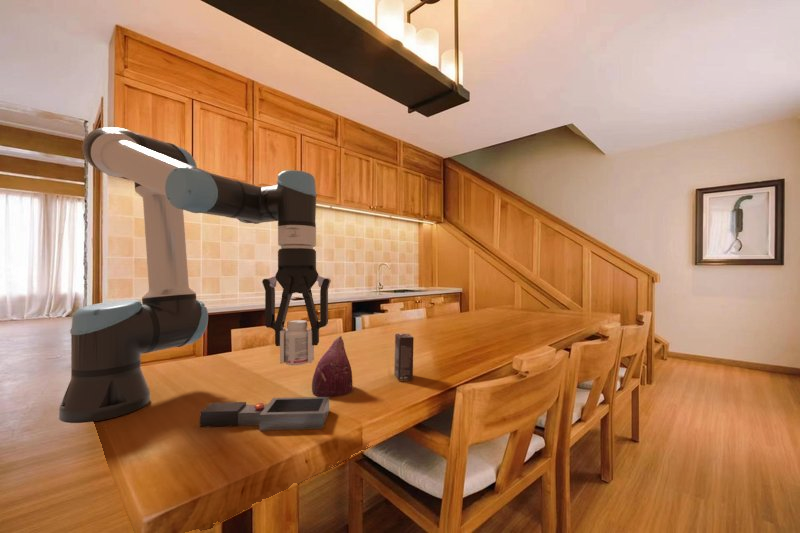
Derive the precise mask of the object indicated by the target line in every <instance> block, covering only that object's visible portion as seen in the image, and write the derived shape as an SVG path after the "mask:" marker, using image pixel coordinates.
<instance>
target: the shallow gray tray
mask: <svg viewBox="0 0 800 533" xmlns="http://www.w3.org/2000/svg"><path fill="white" fill-rule="evenodd" d="M329 411H330V397H322V396H308V397H306V396H304V397H300V396H299V397H272V398H271V400H270V401H269V402H268V403H267V404H265V403H262V402H260V403H259V402H258V403H256V404H247V401H235V402H234V401H231V402H230V401H229V402H222V401H220V402H218V401H217V402H210V403H209V404H208V405H207V406H206V407H204V408H203V409H201V411H200V412H199V428H220V427H221V428H222V427H223V428H224V427H227V428H228V427H238V426H259V428H258V429H259V431H279V430H280V431H283V430H285V431H286V430H287V431H289V430H291V431H292V430H322V429H324V426H325V424H326V421H327V417H328V415H329Z"/></svg>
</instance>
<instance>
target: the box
mask: <svg viewBox="0 0 800 533" xmlns="http://www.w3.org/2000/svg"><path fill="white" fill-rule="evenodd" d="M394 337H395V338H394V373H393V375H394V376H395V377H396V379H397V381H399V382H401V381H402V382H405V381H413V380H414V376H413V375H414V336H412V335H411V334H409V333H395V335H394Z"/></svg>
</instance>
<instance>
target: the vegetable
mask: <svg viewBox="0 0 800 533" xmlns="http://www.w3.org/2000/svg"><path fill="white" fill-rule="evenodd" d="M352 372H353V371H352V366H351V363H350V360H349V358H348V355H347V352H346V349H345V342H344V340H343V337H342V335H339V337H337V338H336V339H334V340H333V343H332V344H331V345H330V346H329V348H328V350H326V352H325V353H324V354H323V355H322V357H320V359H319V361H318V363H317V365H316V367H315V370H314V373H313V376H312V381H311V391H312V394H313V395H314V397H329V398H331V397H332V398H335V397H341V396H346V395H349V394H351V393H352V392H353V386H354V385H353V373H352Z"/></svg>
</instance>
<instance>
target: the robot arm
mask: <svg viewBox="0 0 800 533" xmlns="http://www.w3.org/2000/svg"><path fill="white" fill-rule="evenodd" d="M81 146H82V153H83V156H84V158H85V160H86V161H87V163H89V165H90V166H92V168H94V169H96V170H98V171H100V172H101V173H103V174H106V175H107V176H111V177H114V178H119V179H124V180H128V181H132V182H134V191H135V193H136V194H138V195H139V196H140V197H141V198H142V201H143V202H142V204H143V219H144V233H145V234H144V235H145V248H146V263H147V264H146V266H147V279H148V291H147V292H146V293H145V294H144V295H143V296H142V297H141V300H139V299H121V300H112V301H111V300H110V301H104V302H100V303H93V304H90V305H87V306H83V307H81V308H78V309H77V310H76V311H74V313H73V314H72V319H71V329H70V330H69V331H70V333H69V334H70V336H71V338H70V339H71V345H70V348H71V351H70V355H71V356H70V358H71V361H70V363H71V366H70V368H71V371H70V372H71V373H70V375H71V376H70V382H69V383H68V386H67V388H66V391H65V393H64V396H63V398H62V402H61V403H60V405H59V406H58V407H59V408H58V419H59V421H61V422H63V423H66V424H81V423H82V424H84V423H92V422H98V421H104V420H110V419H113V418H117V417H121V416H124V415H127V414H130V413H132V412H135V411H137V410H140V409H141V408H143V407H145V406H147V405H148V404H149V402H150V400H151V391H150V388H149V387H148V383H147V381H146V378H145V375H144V373H143V371H142V368H141V367H142V366H141V364H142V363H141V361H142V360H141V358H142V355H143V354H148V353H153V352H158V351H159V352H160V351H163V350H168V349H173V348H181V347H184V346H186V345H191V344H193V343H196V342H197V341H199V339H201V338H202V336H203V335H204V334H205V333H206V329H207V327H208V323H209V311H208V308H207V307H206V305H205V303H204V302H203V301H201V300H199V299H197V293H196V292H195V291H194V290H193V289H191V288H190V284H189V283H190V282H189V271H188V256H187V244H186V230H185V228H186V227H185V217H184V216H185V215H184V211H186V212H190V213H193V214H206V215H211V216H219V217H225V218H230V219H237V220H238V221H239V222H241V223H245V224H255V225H256V224H261V223H271V222H277V245H278V246H279V247H280V248H279V249H278V251H277V272H276V273H275V276H272V277H269V278H264V279H262V282H261V284H262V286H263V288H264V291H265V292H264V293H265V296H264V297H265V299H264V302H265V303H264V304H265V308H264V310H265V311H264V314H265V315H264V317H265V320H264V322H265V323H264V324H265V327H266V328H269V329H273V330H274V345H275V347H279V364H286V363H285V333H286V332H287V331H288V329H287V328H285V323H286V318H287V314H288V311H289V307H290V302H291V298H292V297H293V294H295V293H297V294H302V297H303V299H304V303H305V308H306V312H307V315H308V320H309V322H310V323H309V324H310V328H308V329H307V330H308V363H307V364H312V363H313V362H314V360H315V346H318V344H319V342H320V329H322V328H324V327H326V326H327V325H328V323H329V288H330V285H331V281H332V280H331V279H330V278H329V277H323V276H320V274H319V273H318V271H317V250H315V249H314V248H315V247H316V246H317V227H316V226H317V224H316V214H317V212H316V211H317V196H318V195H317V188H316V180H315V179H316V178H315V176H314V175H313V174H311V173H309V172H307V171H303V170H296V169H290V170H289V169H287V170H282V171H281V172H279V173H278V174H277V180H276V184H274V185H267V186H259V185H255V184H251V183H247V182H244V181H240V180H236V179H231V178H229V177H225V176H222V175H219V174H215V173H212V172H209V171H207V170H205V169H204V170H203V169H201V168H198V167H197V163H196V160H195V159H194V157H193V156H192V154H191V153H190V152H188V150H186V149H184V148H183V147H180V146H177V145H176V144H174V143H172V142H165V141H162V140H159V139H156V138H153V137H150V136H147V135H144V134H140V133H138V132H134V131H131V130H129V129H125V128H121V127H113V126H111V127H110V126H109V127H108V126H107V127H98V128H96V129H94V130H91V131H90V132H88V134H87V135H86V136H85V137H84V139H83V141H82V145H81ZM277 282H278V285H279V286H281V288H282V293H281V299H280V304H279V306H278V307H279V308H278V311H277V316H276V287H277ZM316 282H318V287H319V288H320V290H319V291H320V292H319V301H320V302H319V305H320V306H319V307H320V308H319V316H320V318H319V317H318V314H317V310H316V305H315V302H314V299H313V293H312V287H313V286H314V285H315V284H316Z"/></svg>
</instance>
